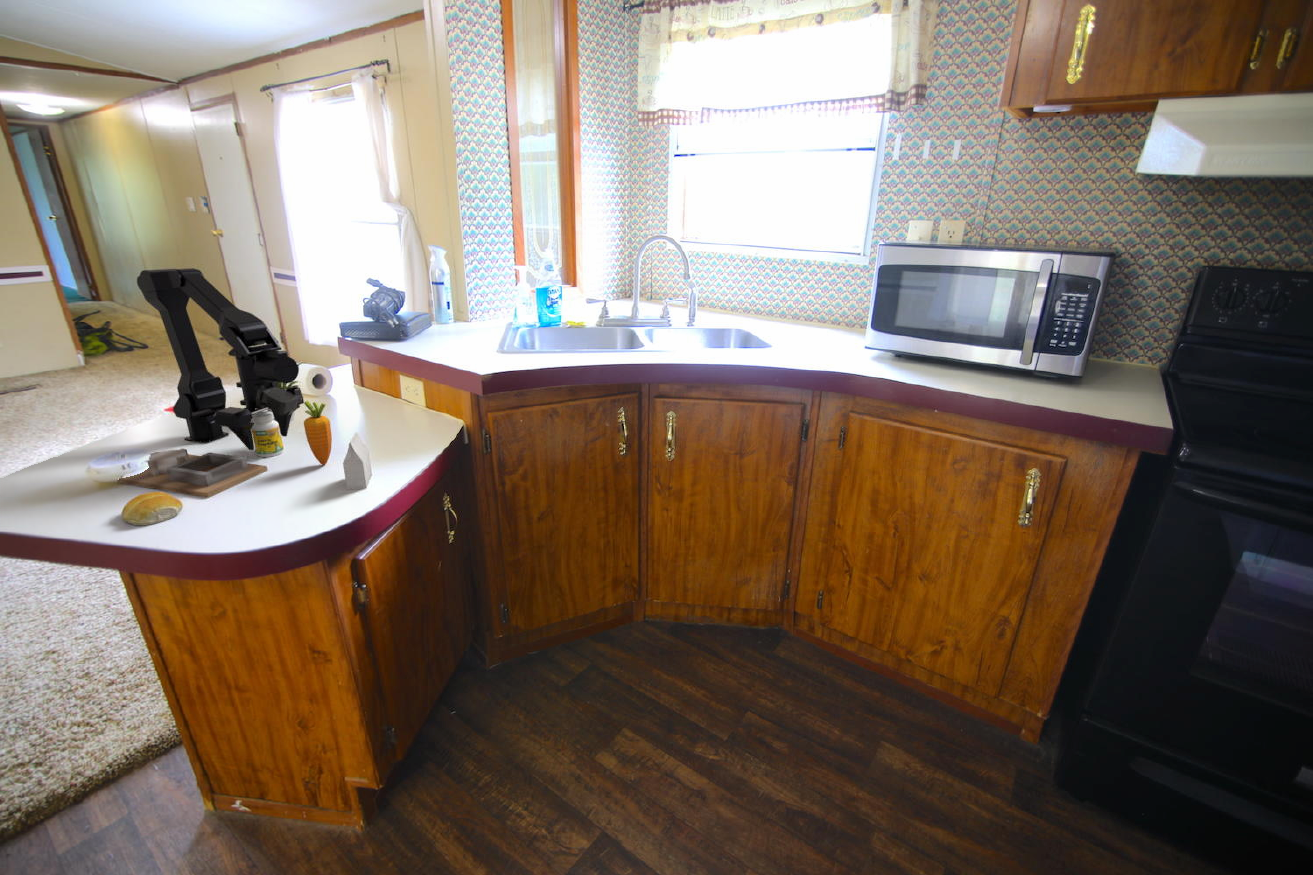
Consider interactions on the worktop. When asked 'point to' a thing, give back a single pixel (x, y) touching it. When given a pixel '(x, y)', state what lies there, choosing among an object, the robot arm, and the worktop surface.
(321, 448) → the carrot
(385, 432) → the worktop surface
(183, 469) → the carrier plate
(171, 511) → the bread roll
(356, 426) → the worktop surface
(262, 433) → the supplement bottle
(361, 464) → the gray house shaped block
